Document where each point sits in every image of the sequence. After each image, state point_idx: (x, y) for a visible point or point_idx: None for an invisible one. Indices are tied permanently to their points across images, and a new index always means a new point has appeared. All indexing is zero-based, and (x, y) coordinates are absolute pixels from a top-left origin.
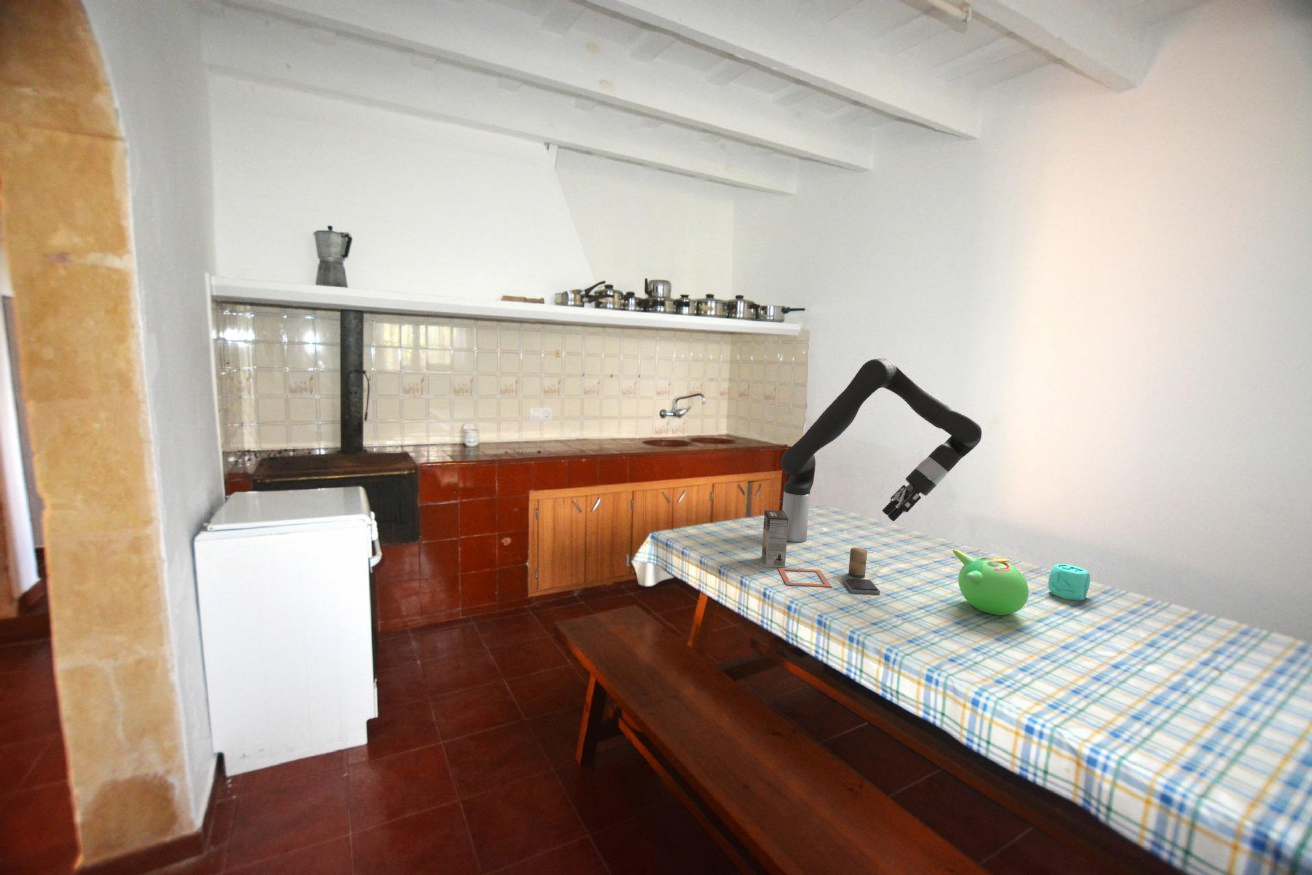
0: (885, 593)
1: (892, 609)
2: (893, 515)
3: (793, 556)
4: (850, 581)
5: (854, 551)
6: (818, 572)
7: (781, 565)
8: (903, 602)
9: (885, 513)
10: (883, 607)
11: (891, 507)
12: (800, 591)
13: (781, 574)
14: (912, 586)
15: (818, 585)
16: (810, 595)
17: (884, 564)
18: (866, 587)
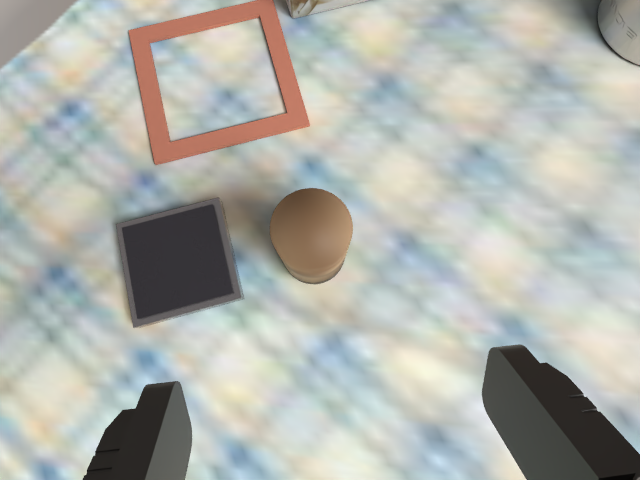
0: (156, 350)
1: (10, 362)
2: (103, 450)
3: (425, 37)
4: (187, 221)
5: (280, 205)
6: (277, 120)
7: (287, 2)
8: (85, 411)
9: (485, 379)
10: (20, 331)
11: (547, 470)
12: (91, 74)
13: (211, 11)
14: (270, 472)
15: (149, 122)
16: (66, 103)
17: None
18: (142, 277)
